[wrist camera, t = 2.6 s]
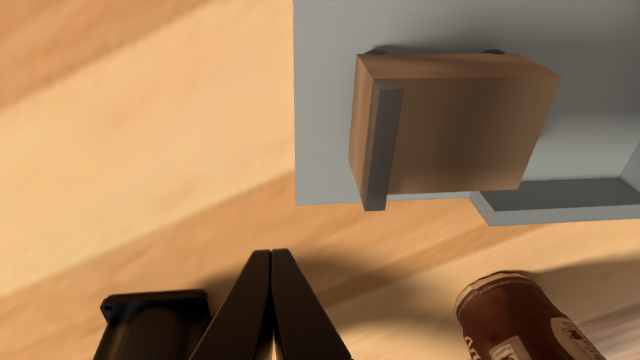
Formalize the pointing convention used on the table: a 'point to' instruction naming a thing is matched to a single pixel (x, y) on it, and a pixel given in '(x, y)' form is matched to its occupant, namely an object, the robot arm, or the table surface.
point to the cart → (445, 122)
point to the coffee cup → (517, 323)
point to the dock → (474, 38)
